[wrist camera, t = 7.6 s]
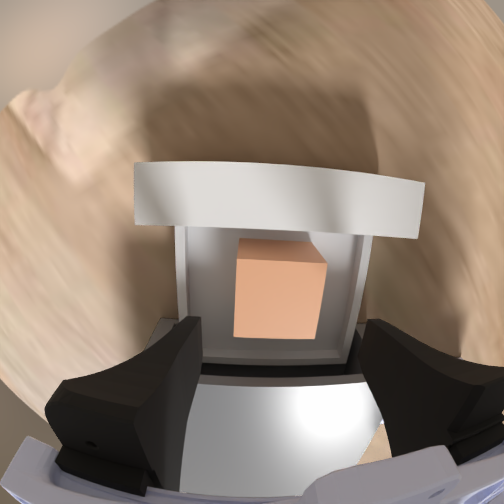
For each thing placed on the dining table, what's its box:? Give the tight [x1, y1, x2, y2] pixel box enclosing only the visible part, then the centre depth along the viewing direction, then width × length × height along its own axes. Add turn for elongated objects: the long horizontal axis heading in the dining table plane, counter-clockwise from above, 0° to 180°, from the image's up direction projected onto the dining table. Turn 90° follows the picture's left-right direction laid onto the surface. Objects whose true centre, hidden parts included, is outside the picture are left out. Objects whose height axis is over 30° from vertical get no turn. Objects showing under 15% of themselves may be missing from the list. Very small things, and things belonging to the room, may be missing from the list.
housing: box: [144, 318, 383, 497], centre depth 20 cm, size 16×16×7 cm
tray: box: [134, 161, 425, 365], centre depth 17 cm, size 14×14×5 cm
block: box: [234, 238, 328, 339], centre depth 17 cm, size 4×4×4 cm
